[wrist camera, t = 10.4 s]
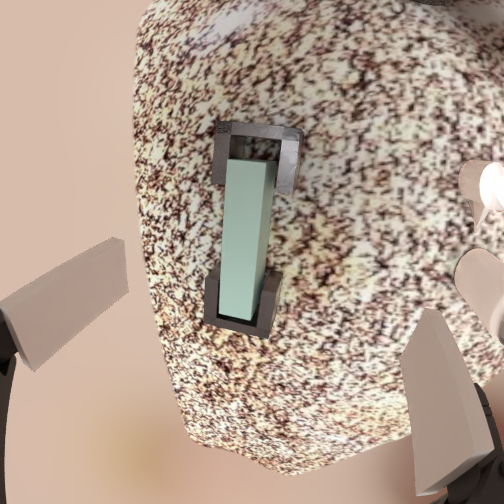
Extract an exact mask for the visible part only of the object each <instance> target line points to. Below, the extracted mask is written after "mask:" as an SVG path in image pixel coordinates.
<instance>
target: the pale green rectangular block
mask: <svg viewBox="0 0 504 504" xmlns="http://www.w3.org/2000/svg"><path fill="white" fill-rule="evenodd" d="M276 163H277V161H269V160H260V159H249V158H239V159H227V172H226V186H225V201H224V217H223V234H222V254H221V275H220V301H219V314H223V315H228V316H232V317H237V318H241V319H246V320H251V318H252V316H253V314H254V311H255V309H256V307H257V305H258V303H259V300H260V298H261V294H262V289H263V282H264V274H265V265H266V256H267V247H268V238H269V229H270V220H271V211H272V201H273V192H274V182H275V173H276Z"/></svg>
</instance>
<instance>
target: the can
mask: <svg viewBox="0 0 504 504" xmlns="http://www.w3.org/2000/svg"><path fill="white" fill-rule="evenodd" d="M454 280H455V286H456V288H457V290H458V291H459V293H460V294H461V295H462V297H463V298H464V299H465V301H466V302H467V303H468V304H469V306H470V307H471V308H472V310H473V311H474V313H475V314H476V315H477V317H478V318H479V319H480V321H481V322H482V324H483V325H484V326H485V328H486V329H487V331H488V332H489V333H490V335H491V336H492V337H493V338H494V339H495V340H498V341H500V343H501V344H502V345H504V263H503V262H501V261H500V260H499V259H497V258H496V257H495V256H494V255H492V254H491V253H489V252H488V251H487V250H485V249H483V248H475V249H472V250H470V251H468V252H467V253H466V254H465V255H464V256H463V257H462V258H461V260H460V261H459V263H458V265H457V267H456V271H455V276H454Z"/></svg>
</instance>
